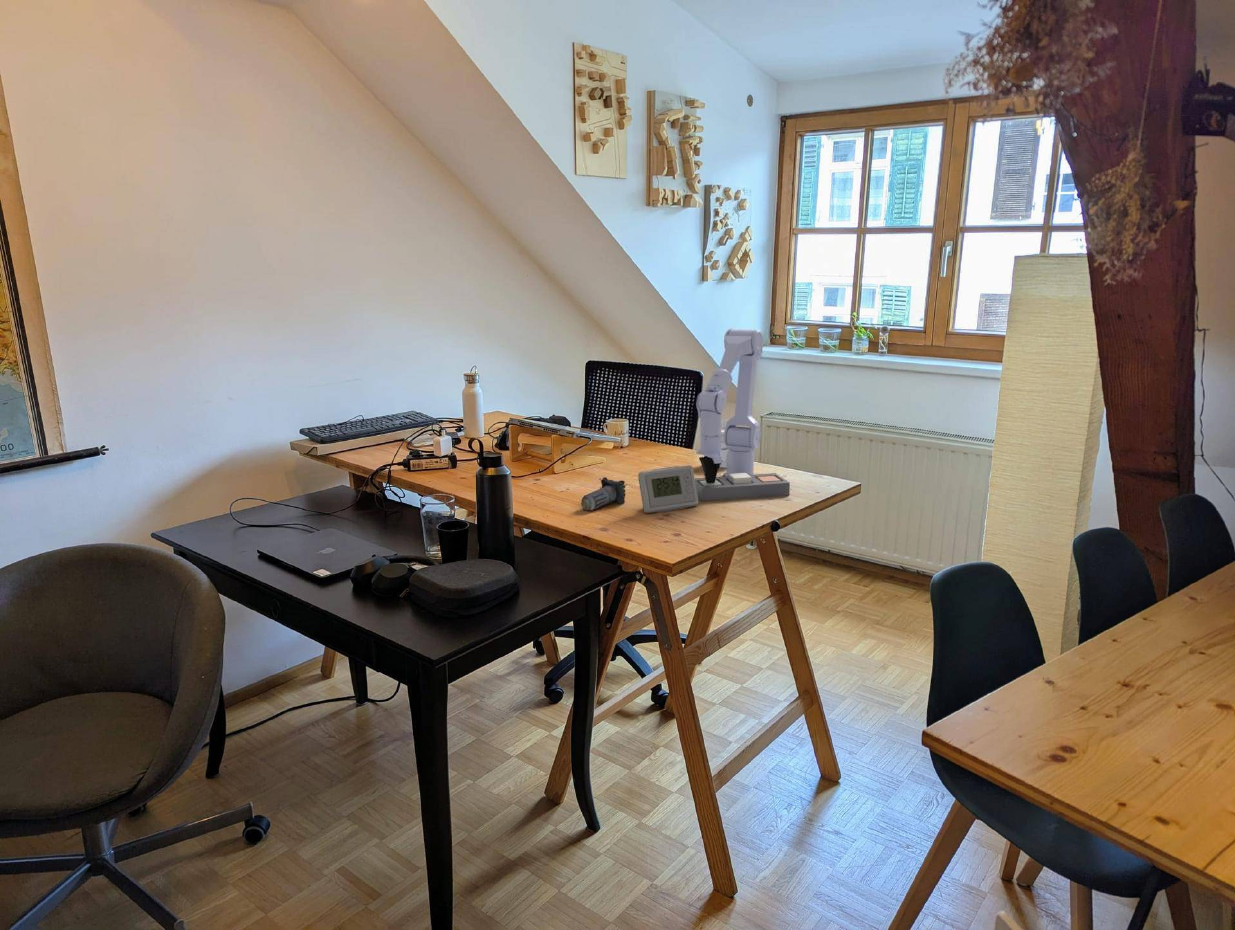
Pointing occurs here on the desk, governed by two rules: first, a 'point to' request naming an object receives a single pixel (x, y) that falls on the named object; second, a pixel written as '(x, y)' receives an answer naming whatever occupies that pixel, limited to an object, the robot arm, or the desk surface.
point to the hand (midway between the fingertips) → (710, 482)
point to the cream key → (739, 478)
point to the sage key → (703, 483)
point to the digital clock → (668, 489)
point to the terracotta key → (768, 479)
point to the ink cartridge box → (723, 446)
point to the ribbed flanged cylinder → (605, 494)
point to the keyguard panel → (742, 488)
